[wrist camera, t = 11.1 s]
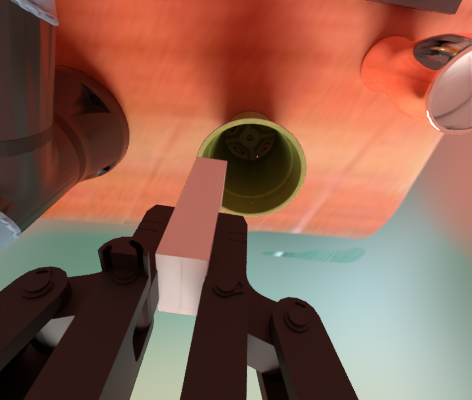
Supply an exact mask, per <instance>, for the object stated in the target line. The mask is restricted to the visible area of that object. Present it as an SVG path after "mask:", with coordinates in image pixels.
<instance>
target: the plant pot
mask: <svg viewBox="0 0 472 400" xmlns="http://www.w3.org/2000/svg"><path fill="white" fill-rule="evenodd" d="M233 126H236V127H235V129H234V130H233V131H231V128H232V127H233ZM232 132H233V133H232ZM250 135H251V136H252V137H253V139H252V140H248V138H247V137H248V136H250ZM266 143H268V146H267V148H266V149H265V150H264V151H261V149H262V148H263V146H264V145H265V144H266ZM236 148H238V149H239V150H241V151H243V152H244V155H243V154H242V153H239V152H238V151H236ZM256 152H257V154H258V158H257V154H256ZM197 157H203V158H210V159H216V160H223V161H227V167H226V175H225V183H224V191H223V198H222V206H221V210H223V211H225V212H227V213H229V214H233V215H240V216H243V217H259V216H264V215H268V214H271V213H274V212H276V211H278V210H280V209H282V208H283V207H285V206H286V205H287V204H289V203H290V202H291V201H292V200H293V199H294V198H295V197H296V195H297V194H298V193H299V191H300V189H301V187H302V185H303V183H304V180H305V176H306V159H305V155H304V152H303V149H302V147H301V145H300V144H299V142H298V141H297V139H296V138H295V137H294V136H293V135H292V134H291V133H290V132H289V131H288V130H287V129H285V128H284V127H282V126H280V125H278V124H276V123H274V122H272V121H270V120H269V119H268V118H267V117H266V116H265V115H263V114H261V113H258V112H254V111H248V112H243V113H240V114H238V115H236V116H235V117H234V118H232V119H231V120H230V122H228V123H226V124H224V125H222V126H220V127H219V128H217V129H216V130H214V131H213V132H212V133H211V134H210V135H209V136H208V137H207V138H206V139H205V140H204V142H203V143H202V145H201V147H200V149H199V151H198V154H197ZM197 157H196V158H197Z"/></svg>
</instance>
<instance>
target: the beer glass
mask: <svg viewBox="0 0 472 400" xmlns="http://www.w3.org/2000/svg"><path fill="white" fill-rule="evenodd" d="M361 79H362V82H363V84H364V85H365V87H366V88H367V89H369V90H370V91H372V92H376V93H384V94H385V95H386V96H387V97H388V99H389V100H390V101H391V102H392V104H393V105H394V106H395V107H396V108H397V109H398V110H399V111H400V112H402V113H403V114H405V115H406V116H408V117H409V118H411V119H413V120H415V121H417V122H419V123H421V124H424V125H426V126H429V127H431V128H434V129H437V130H438V131H440V132H443V133H446V134H452V135H458V134H466V133H470V132H472V34H468V33H447V34H440V35H435V36H430V37H426V38H423V39H419V40H416V41H410V40H408V39H407V38H404V37H401V36H392V37H388V38H385V39H383V40H381V41H379V42H378V43H376V44H375V45H374V46H373V47H372V48H371V49H370V50H369V52H368V53H367V54H366V56H365V58H364V60H363V63H362V66H361Z"/></svg>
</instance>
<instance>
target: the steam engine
mask: <svg viewBox="0 0 472 400" xmlns="http://www.w3.org/2000/svg"><path fill="white" fill-rule="evenodd" d="M368 1H373V2H379V3H385V4H391V5H397V6H402V7H408V8H414V9H420V10H426V11H431V12H437V13H443V14H449V15H450V14H455V13H456V11H457V9H458V7H459V5H460V3H461V1H462V0H368Z"/></svg>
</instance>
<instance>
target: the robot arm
mask: <svg viewBox="0 0 472 400" xmlns="http://www.w3.org/2000/svg"><path fill="white" fill-rule="evenodd" d="M58 25H59V18H58V16H57V15H56V0H0V251H1V250H2V249H3V248H5V247H6V246H8V245H9V244H10V243H12V242H13V241H16V240H17V239H18V238H19V237H20V236H21V233H22V232H23V231H24V230H26V229H27V228H28V227H29V226H30V225H31V224H32V223H33V222H35V221H36V220H37V219H38V218H39V217H40V216H41V215H42V214H43V213H45V212H46V211H47V210H48V209H49V208H50V207H51V206H52V205H53V204H55V203H56V202H57V201H58V200H59V199H60V198H61V197H62V196H63V195H65V194H66V193H67V192H68V191H69V190H70V189H71V188H72V187H73V186H74V185H76V184H77V183H79V182H82V181H85V180H89V179H92V178H95V177H98V176H101V175H104V174H106V173H108V172H109V171H111V170H112V169H113V168H114V167H115V166H116V165H117V164H118V163H119V162H120V161H121V160H122V159H123V157H124V156H125V154H126V152H127V149H128V145H129V129H128V125H127V121H126V118H125V116H124V113H123V111H122V109H121V108H120V106H119V104H118V103H117V101H116V100H115V98H114V97H113V96H112V95H111V94H110V92H109V91H108V90H107V89H106V88H105V87H104V86H102V85H101V84H100V83H99V82H97V81H96V80H95V79H93V78H92V77H90V76H88V75H87V74H85V73H83V72H81V71H78V70H75V69H72V68H69V67H64V66H55V63H56V26H58ZM226 167H227V161H223V160H216V159H210V158H203V157H197V158H196V160H195V162H194V165H193V167H192V169H191V172H190V174H189V176H188V179H187V181H186V183H185V186H184V188H183V190H182V193H181V195H180V197H179V200H178V202H177V204H176V207H171V206H163V205H155V206H154V207H152V208H151V209H149V210H148V211H147V212H146V214H145V215H144V217H143V219H142V222H140V224H139V226H138V229H136V231H135V233H134V235H133V236H132V237H120V238H116V239H112V240H110V241H108V242H107V243H105V244H103V246H101V247H100V248H99V249H98V254H99V258H100V263H101V267H102V271H101V272H99V273H95V274H90V275H82V276H76V277H75V276H74V277H67V275H66V272H65V271H63V270H62V269H60V268H57V267H42V268H37V269H35V270H32V271H29V272H27V273H25V274H24V275H22V276H20V277H19V278H17V279H16V280H14V281H13V282H12V283H11V284H9V285H8V286H7V287H6V288H4V289H3V290H2V291H0V400H130V397H131V394H132V390H133V388H134V384H135V381H136V378H137V375H138V372H139V369H140V366H141V363H142V360H143V357H144V354H145V351H146V348H147V345H148V342H149V339H150V336H151V333H152V329H153V323H154V313H155V310H156V307H157V304H158V311H163V312H171V313H179V314H187V315H194V316H196V321H195V327H194V331H193V336H192V341H191V347H190V352H189V357H188V362H187V367H186V372H185V377H184V382H183V388H182V392H181V397H180V400H246V396H247V394H246V393H247V365H248V366H250V367H252V368H254V369H256V372H257V377H258V382H259V386H260V391H261V395H262V399H263V400H358V398H357V396H356V393H355V391H354V389H353V387H352V385H351V383H350V381H349V379H348V376H347V374H346V372H345V370H344V368H343V366H342V363H341V362H340V359H339V357H338V355H337V353H336V351H335V349H334V347H333V344H332V342H331V340H330V338H329V336H328V334H327V332H326V330H325V327H324V325H323V323H322V321H321V319H320V317H319V315H318V314H317V312H316V311H315V309H314V308H313V307H312V306H310V305H309V304H308V303H307V302H305V301H303V300H301V299H298V298H292V297H287V298H284V299H281V300H280V301H278V302H276V301H273V300H271V299H269V298H267V297H264V296H263V295H261V294H259V293H258V292H256V291H255V290H254V289H253V288H252V287H251V285H250V284H249V282H248V279H247V275H246V263H247V223H246V221H245V219H244V217H243V216H240V215H233V214H226V213H220V212H221V206H222V198H223V191H224V183H225V175H226Z"/></svg>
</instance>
